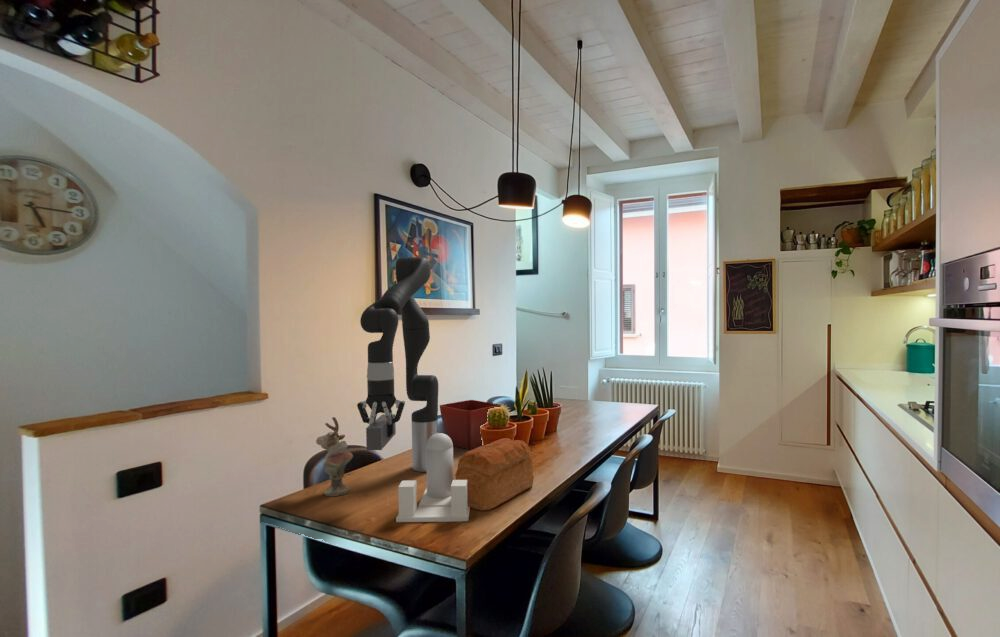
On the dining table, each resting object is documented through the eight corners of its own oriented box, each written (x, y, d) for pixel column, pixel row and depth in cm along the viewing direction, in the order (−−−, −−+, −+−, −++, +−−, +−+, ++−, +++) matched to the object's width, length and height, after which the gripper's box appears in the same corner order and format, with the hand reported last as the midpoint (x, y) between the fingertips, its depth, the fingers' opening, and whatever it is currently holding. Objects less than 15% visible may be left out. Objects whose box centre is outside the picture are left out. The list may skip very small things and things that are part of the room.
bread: (449, 503, 143) (449, 451, 143) (501, 478, 165) (500, 432, 165) (489, 513, 136) (488, 458, 135) (537, 485, 158) (537, 438, 158)
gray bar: (382, 433, 152) (382, 414, 152) (395, 433, 152) (395, 414, 152) (366, 450, 134) (366, 428, 134) (381, 450, 134) (380, 428, 134)
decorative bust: (312, 482, 159) (320, 407, 157) (352, 486, 161) (361, 411, 159) (302, 498, 148) (310, 417, 146) (345, 501, 150) (354, 421, 148)
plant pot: (502, 443, 209) (502, 404, 209) (469, 453, 196) (469, 410, 196) (471, 436, 223) (471, 399, 223) (438, 445, 209) (438, 405, 209)
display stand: (411, 491, 153) (410, 430, 153) (473, 491, 153) (472, 429, 153) (396, 522, 131) (395, 449, 130) (468, 521, 130) (466, 448, 130)
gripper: (407, 375, 147) (408, 433, 147) (359, 376, 147) (361, 434, 147) (402, 378, 139) (403, 439, 139) (352, 379, 139) (353, 440, 139)
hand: (381, 436), depth 143 cm, fingers closed on gray bar, 4 cm apart
